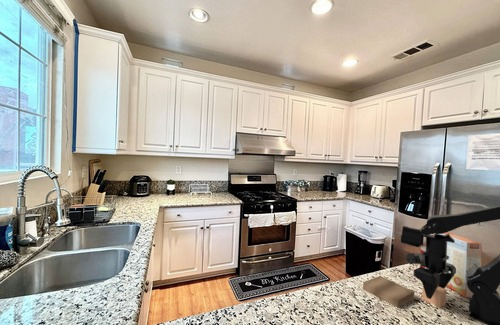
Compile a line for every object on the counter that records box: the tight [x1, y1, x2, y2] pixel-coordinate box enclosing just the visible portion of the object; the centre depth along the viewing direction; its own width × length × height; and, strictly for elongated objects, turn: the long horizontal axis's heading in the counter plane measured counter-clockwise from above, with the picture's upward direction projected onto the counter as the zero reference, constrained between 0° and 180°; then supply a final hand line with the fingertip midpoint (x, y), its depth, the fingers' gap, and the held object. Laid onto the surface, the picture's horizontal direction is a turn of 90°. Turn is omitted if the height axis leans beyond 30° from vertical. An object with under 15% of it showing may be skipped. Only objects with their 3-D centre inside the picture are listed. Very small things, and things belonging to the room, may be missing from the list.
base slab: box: [362, 275, 415, 309], centre depth 79 cm, size 12×12×3 cm
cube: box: [421, 286, 447, 308], centre depth 76 cm, size 5×5×5 cm
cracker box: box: [440, 232, 483, 299], centre depth 86 cm, size 14×6×21 cm, turn 179°
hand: (434, 294), depth 75 cm, fingers open, 9 cm apart
